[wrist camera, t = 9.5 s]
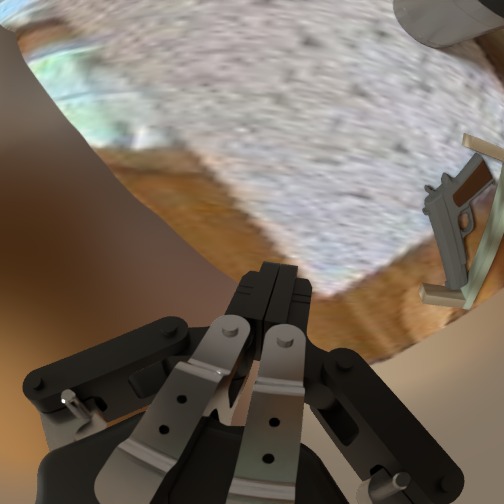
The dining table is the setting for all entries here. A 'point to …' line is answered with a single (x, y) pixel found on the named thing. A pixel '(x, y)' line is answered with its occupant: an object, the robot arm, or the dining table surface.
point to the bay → (498, 223)
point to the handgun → (455, 216)
